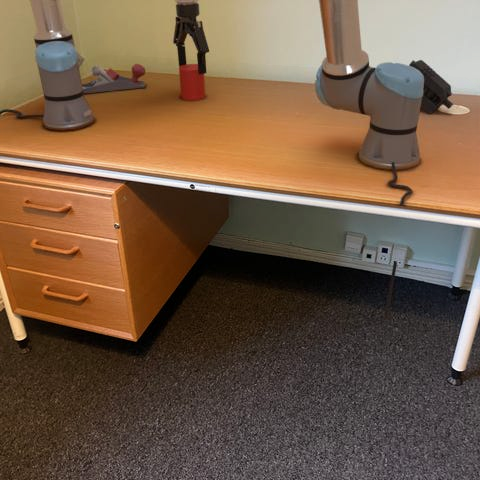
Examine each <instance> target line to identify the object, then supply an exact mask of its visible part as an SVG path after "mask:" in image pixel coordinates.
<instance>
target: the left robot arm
mask: <svg viewBox="0 0 480 480" xmlns="http://www.w3.org/2000/svg"><path fill="white" fill-rule="evenodd" d="M174 1H175V3H176V4H175V12H176V16H175V25H174V33H173V38H172V39H173V40H172V42H173V43H172V44H174V45H175V46H176V47H177V48H176V49H177V60H178V67H180V66H182V65H186V64H187V54H186V43H185V42H186V39H187V36H188V35H189V37H191V39H192V42H193V44H194V47H195V48H196V51H197V53H196V61H197V64H198V74H199V75H200V74H204V75H205V74H207V60H206V59H207V55H206V54H207V53H210V47H209V45H208V41H207V38H206V33H205V31H204V25H203V21H202V20H197V17H199V16H200V4H199V0H174ZM29 2H30V7H31V12H32V17H33V19H34V24H35V28H36V32H35V33H34V35H33V42H34V44H35V50H34V54H35V57H34V58H35V59H34V60H35V62H36V65H37V70H38V74H39V78H40V83H41V89H42V93H43V98H44V112H43V114H41V113H40V114H23V115H22V112H21V111H20V110H15V109H12V108H11V109H8V108H7V109H2V110H0V116H1V115H2V114H4V113H13V114H16V118H18V119H27V118H42V122H43V126H44V128H45V129H46V130H50V131H55V132H69V131H75V130H80V129H83V128H87V127H89V126H91V125H92V124H93V123H94V122H95V116H94V112H93V111H92V109H91V108H90V105H89V103H88V101H87V99H86V97H85V94H84V93H83V87H82V84H83V82H82V81H83V80H82V76H81V69H80V68H79V64H78V55H77V52H76V50H77V49H76V45H75V41H74V37H73V32H72V31H71V30H69V28H67V27H66V23H65V18H64V14H63V9H62V4H61V0H29Z"/></svg>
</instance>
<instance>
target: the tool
mask: <svg viewBox="0 0 480 480" xmlns="http://www.w3.org/2000/svg"><path fill="white" fill-rule="evenodd" d="M408 66H411V67H414V68H416V69H417V70H419V71H420V72H421V73H422V74H423V76H424V87H423V91H424V93H423V96H422V101H421V107H420V108H422V109H423V110H424V111H425V112H427V113H428V114H432V113H434V112H436V111H437V110H438V109H440V108H441V107H442V106H444V107H446V108H447V109H448V110H449V109H451V108H452V107H453V106H454V103H453V102H452V101H450V99H448V98H449V97H451V96H452V94H453V92H452V86H451V84H450V83H448V81H447V80H445V79H444V78H443V77H442V76H441V75H440V74H439V73H438V72H437V71H435V70H434V69H433V68H432V67H431V66H430V65H429V64H427V63H426V62H425V61H424V60H422V59H418V60H417V61H416V60H411V62H410V63H409V65H408Z"/></svg>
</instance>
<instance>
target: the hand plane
mask: <svg viewBox="0 0 480 480" xmlns="http://www.w3.org/2000/svg"><path fill="white" fill-rule="evenodd" d="M76 52H77V55H78V64H79V69H80V68H81V66H82V65H83V63H84V61H85V59H86V58H85V56H84V55H83V54H82V53H81V52H80V51H79V50H77V49H76ZM90 72H91V75H93V76H94V77H97V78H95V79H90V81H89V82H86V83H82V87H83V93H84V95H85V94H94V93H104V92H112V91H113V92H114V91H121V90H132V89H142V88H146V83H145V81H143V80H139V78H142V77H144V76H145V75H146V68H145V66H143V65H141V64H139V63H134V64H133V65H132V66H131V73H132V76H131V78H130V77H126V76H123V75H120V74H119V73H117V72H116V71H114V70H113V69H112V68H111V67H109V68H108V70H107V71H105V70H104V69H103V68H102V67H100V65H94V66H92V68H91V70H90Z"/></svg>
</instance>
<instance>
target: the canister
mask: <svg viewBox="0 0 480 480" xmlns="http://www.w3.org/2000/svg"><path fill="white" fill-rule="evenodd" d="M178 75H179V86H180V88H179V89H180V97H181V100H184V101H190V102H191V101H200V100H203V99H205V98H206V83H205V82H206V81H205V74H200V75H199V74H198V63H186V65H182V66H178Z"/></svg>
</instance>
